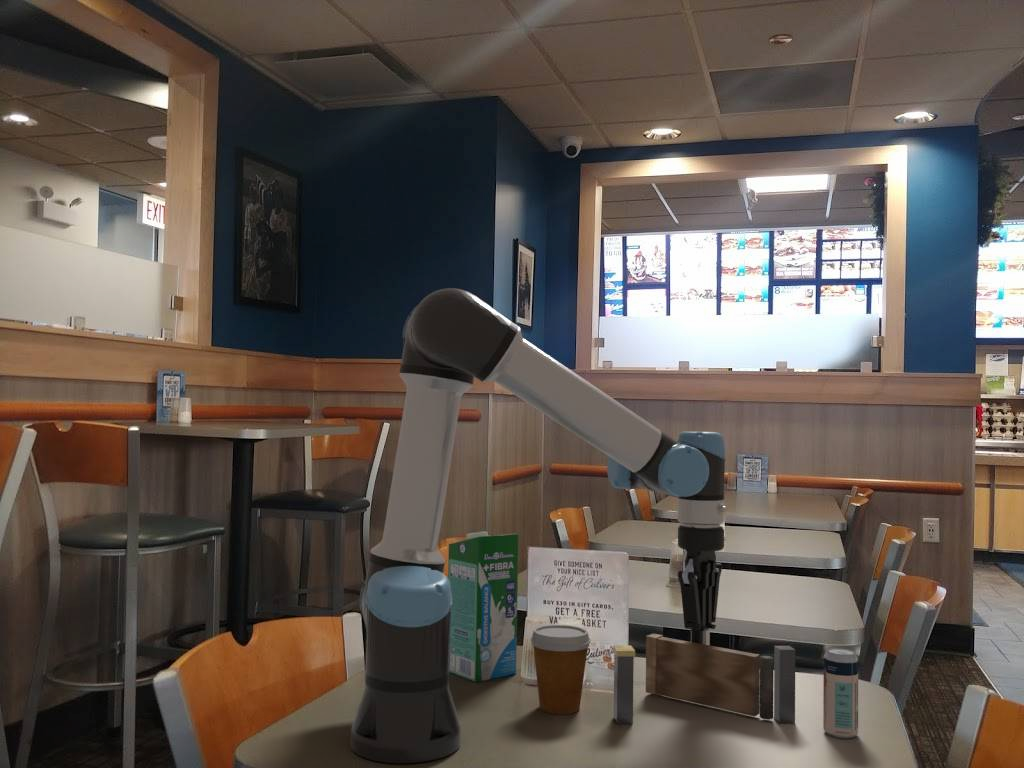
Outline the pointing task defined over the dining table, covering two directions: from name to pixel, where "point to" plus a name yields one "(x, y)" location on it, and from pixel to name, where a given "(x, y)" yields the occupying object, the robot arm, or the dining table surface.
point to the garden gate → (710, 675)
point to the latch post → (623, 683)
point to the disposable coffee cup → (560, 666)
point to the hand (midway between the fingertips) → (699, 669)
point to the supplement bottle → (840, 693)
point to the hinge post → (784, 684)
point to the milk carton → (483, 606)
